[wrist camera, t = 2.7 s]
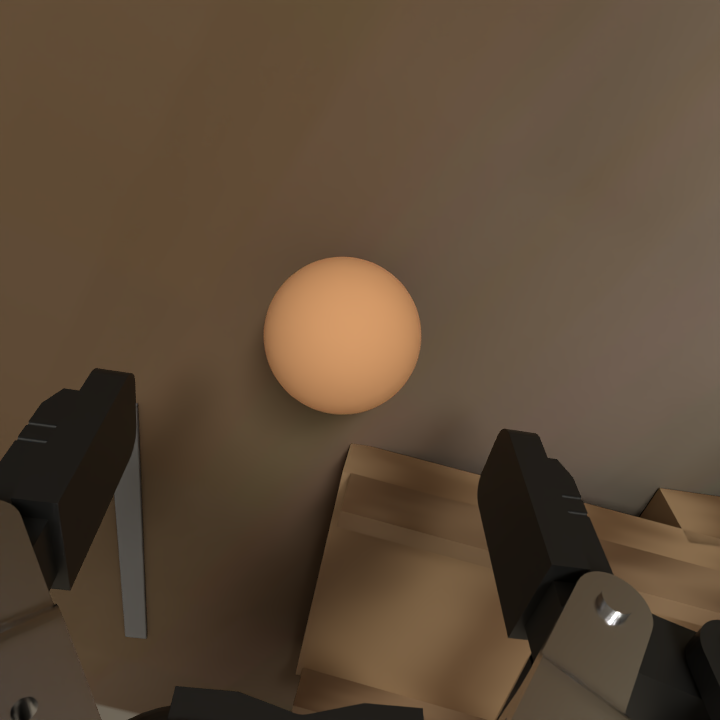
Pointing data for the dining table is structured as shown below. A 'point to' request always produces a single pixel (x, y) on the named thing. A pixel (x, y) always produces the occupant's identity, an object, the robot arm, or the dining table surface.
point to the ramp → (464, 587)
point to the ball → (342, 335)
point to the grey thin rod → (132, 544)
